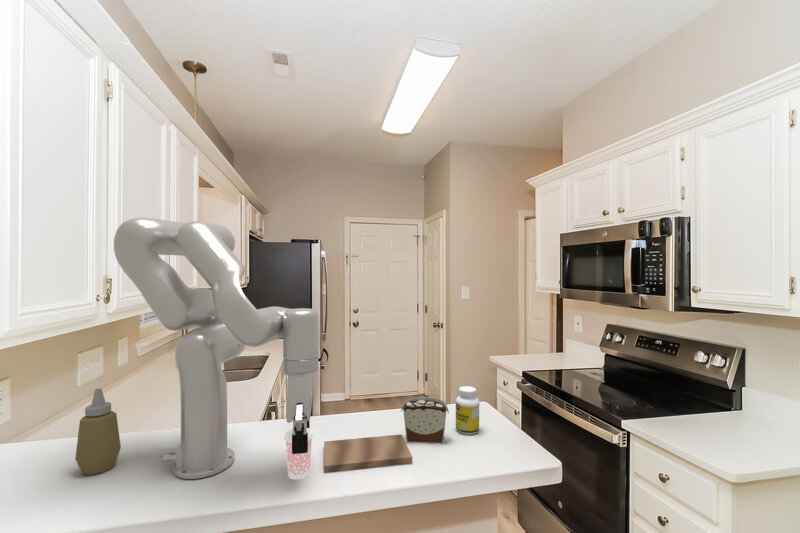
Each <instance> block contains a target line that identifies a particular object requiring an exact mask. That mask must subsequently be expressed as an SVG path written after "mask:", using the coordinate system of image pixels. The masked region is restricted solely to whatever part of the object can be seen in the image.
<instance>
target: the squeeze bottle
mask: <svg viewBox="0 0 800 533" xmlns="http://www.w3.org/2000/svg"><path fill="white" fill-rule="evenodd" d="M84 412H85V415H84V416H83V417H82V418H81V419H80V420H79V426H78V434H77V435H78V436H77V443H76V449H75V458H74V459H75V462H76V464H77V466H78V468H79V469H80V472H81V473H82V474H83V475H86V476H92V475H98V474H101V473H104V472H107V471H109V470H111V469H112V468H114V466H115V465H116V462H117V459H118V458H119V454H120V450H121V439H120V432H119V424H118V423H119V422H118V417H117V416H118V415H117V412H115V411H113V410H112V403H111V402H109V401H106V399H105V396H104V393H103V389H102V388H96V389H94V392H93V396H92V401H91V404H89V405H88V406H85V408H84Z"/></svg>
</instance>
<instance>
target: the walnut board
mask: <svg viewBox="0 0 800 533" xmlns="http://www.w3.org/2000/svg"><path fill="white" fill-rule="evenodd" d="M323 449H324V450H323V452H324V453H323V455H324V456H323V458H324V459H323V460H324V461H323V464H324V465H323V469H324V470H323V473H324V474H326V473H327V474H329V473H336V472H345V471H347V472H348V471H354V470H355V471H356V470H363V469H364V470H365V469H373V468H381V467H382V468H383V467H392V466H401V465H410V464H413V456H412V454H411V451H410V449H409V447H408V443H407V441H406V440H405V438H404V436H403V434H391V435H380V436H370V437H369V436H368V437H358V438H349V439H337V440H336V439H335V440H326V441H325V440H324V441H323Z"/></svg>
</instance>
